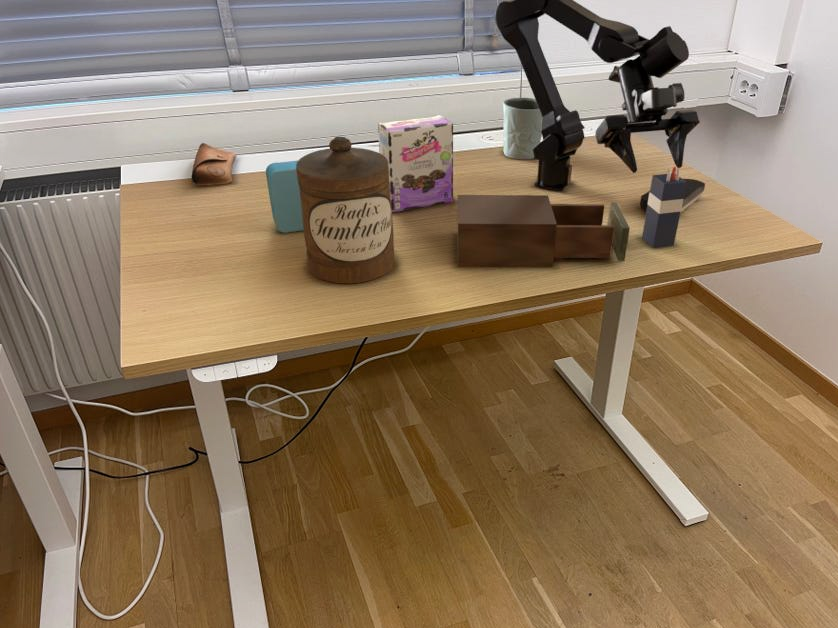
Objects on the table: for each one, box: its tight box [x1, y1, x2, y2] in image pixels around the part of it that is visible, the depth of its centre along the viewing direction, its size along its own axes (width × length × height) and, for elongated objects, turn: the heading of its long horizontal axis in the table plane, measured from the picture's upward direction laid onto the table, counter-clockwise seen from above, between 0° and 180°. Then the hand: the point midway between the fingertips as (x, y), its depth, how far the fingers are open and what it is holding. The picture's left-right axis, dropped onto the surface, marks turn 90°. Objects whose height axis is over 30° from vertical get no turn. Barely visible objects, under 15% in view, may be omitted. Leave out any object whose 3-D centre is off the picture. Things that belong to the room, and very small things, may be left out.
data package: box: [265, 160, 304, 234], centre depth 131 cm, size 12×4×12 cm, turn 112°
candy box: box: [377, 115, 454, 213], centre depth 140 cm, size 14×6×16 cm, turn 117°
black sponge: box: [639, 177, 706, 213], centre depth 145 cm, size 16×8×4 cm, turn 143°
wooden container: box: [296, 136, 395, 284], centre depth 116 cm, size 15×15×22 cm
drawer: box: [550, 201, 631, 262], centre depth 126 cm, size 17×11×6 cm
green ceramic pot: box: [502, 97, 543, 160], centre depth 167 cm, size 10×10×12 cm
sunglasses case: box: [190, 142, 237, 187], centre depth 156 cm, size 18×7×7 cm
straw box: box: [641, 166, 687, 249], centre depth 128 cm, size 4×4×15 cm
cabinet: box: [456, 194, 557, 268], centre depth 125 cm, size 17×13×8 cm
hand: (657, 169), depth 128 cm, fingers open, 9 cm apart
